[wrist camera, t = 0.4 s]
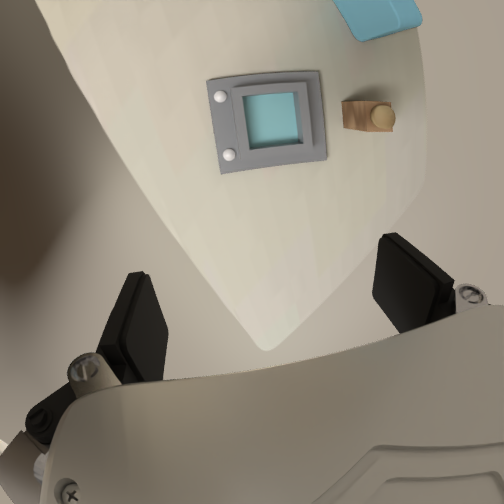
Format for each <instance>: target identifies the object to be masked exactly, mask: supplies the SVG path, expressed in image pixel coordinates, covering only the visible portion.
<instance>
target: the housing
mask: <svg viewBox="0 0 504 504" xmlns="http://www.w3.org/2000/svg"><path fill="white" fill-rule="evenodd" d="M206 84H207V90H208V97H209V103H210V110H211V116H212V123H213V129H214V136H215V142H216V148H217V154H218V160H219V166H220V172H221V174H226V173H232V172H238V171H244V170H251V169H258V168H265V167H272V166H279V165H287V164H296V163H305V162H314V161H324V160H327V155H326V142H325V130H324V119H323V109H322V100H321V91H320V83H319V75H318V72H282V73H266V74H255V75H245V76H236V77H229V78H222V79H215V80H209V81H206Z"/></svg>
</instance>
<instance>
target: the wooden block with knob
mask: <svg viewBox="0 0 504 504" xmlns="http://www.w3.org/2000/svg"><path fill="white" fill-rule="evenodd" d="M342 113H343V124H344V128H347V129H354V130H360V131H365V132H393V128H392V126H393V125H394V123H395V113H394V111H393V110H392V109H391V102H378V101H348V102H342Z"/></svg>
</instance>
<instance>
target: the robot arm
mask: <svg viewBox="0 0 504 504" xmlns="http://www.w3.org/2000/svg"><path fill="white" fill-rule="evenodd" d="M453 284H454V279H452V278H451V277H450V276H449V275H448V274H447V273H446V272H444V271H443V270H442V269H441V268H439V266H437V265H436V264H435V263H434V262H433V261H431V260H430V259H429V258H428V257H427V256H425V255H424V254H423V253H421V252H420V251H419V250H418V249H417V248H415V247H414V246H413V245H412V244H410V243H409V242H408V241H407V240H405V239H404V238H403V237H401V236H400V235H399V234H398V233H396V232H395V233H388V234H383V235H382V238H380V239H379V243H378V252H377V261H376V269H375V276H374V283H373V290H372V295H373V298H374V299H375V301H376V302H377V304H378V305H379V306H380V307H381V309H382V310H383V311H384V313H385V314H386V315H387V317H388V318H389V319H390V321H391V322H392V324H393V325H394V326H395V328H396V329H397V330H398V332H399V333H400V334H398V335H395V336H392V337H389V338H385V339H382V340H378V341H376V342H372V343H368V344H365V345H361V346H357V347H354V348H350V349H346V350H343V351H339V352H335V353H331V354H327V355H322V356H318V357H314V358H309V359H305V360H300V361H295V362H291V363H286V364H281V365H275V366H270V367H265V368H259V369H253V370H247V371H240V372H234V373H227V374H220V375H211V376H203V377H194V378H184V379H171V380H163V373H164V365H165V356H166V349H167V342H168V328H167V325H166V322H165V319H164V317H163V314H162V311H161V308H160V305H159V302H158V300H157V297H156V294H155V291H154V288H153V285H152V282H151V279H150V276H149V275H148V274H145V273H144V272H143V271H141V272H134V273H129V274H128V276H127V278H126V280H125V283H124V285H123V287H122V289H121V292H120V294H119V296H118V299H117V301H116V303H115V306H114V308H113V310H112V312H111V314H110V316H109V319H108V321H107V324H106V326H105V329H104V331H103V334H102V337H101V339H100V342H99V345H98V347H97V350H96V353H94V352H89V353H84V354H82V355H80V356H78V357H77V358H75V359H74V360H73V361H72V362H71V364H70V365H69V367H68V370H67V377H68V380H69V382H68V383H67V384H65V385H64V386H62V387H61V388H60V389H58V390H57V391H55V392H54V393H53V394H51V395H50V396H48V397H47V398H45V399H44V400H42V401H41V402H40V403H38V404H37V405H35V406H34V407H33V408H32V409H31V410H30V411H29V413H28V414H27V417H26V422H25V426H26V431H25V432H23V431H22V430H21V431H20V432H19V433H18V434H17V435H16V437H15V438H14V439H13V441H12V442H11V443H10V444H9V445H8V446H7V448H6V449H5V450H4V451H3V453H2V454H1V455H0V485H1V486H2V488H3V489H4V491H5V492H6V494H7V495H8V496H9V498H10V499H11V500H12V502H13V503H14V504H504V306H503V305H491V304H488V301H487V297H486V295H485V293H484V292H483V291H482V290H481V289H480V288H478V287H476V286H475V285H471V284H460V285H458V286H457V288H456V289H455V290H454V289H453V288H452V287H453Z"/></svg>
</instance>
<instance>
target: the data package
mask: <svg viewBox="0 0 504 504" xmlns="http://www.w3.org/2000/svg"><path fill="white" fill-rule="evenodd" d="M333 1H334V3H335V4H336V6H337V8H338V9H339V11H340V12H341V14H342V16H343V18H344V19H345V21H346V23H347V25H348V26H349V28H350V30H351V32H352V34H353V35H354V37H355V38H356V39H357V40H359V41H361V42H364V41H368V40H372V39H376V38H380V37H384V36H387V35H390V34H393V33H397V32H400V31H403V30H407V29H410V28H414V27H418V26H420V25H421V23H422V16H421V13H420V11H419V9H418V7H417V6H416V4H415V2H414V0H333Z"/></svg>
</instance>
